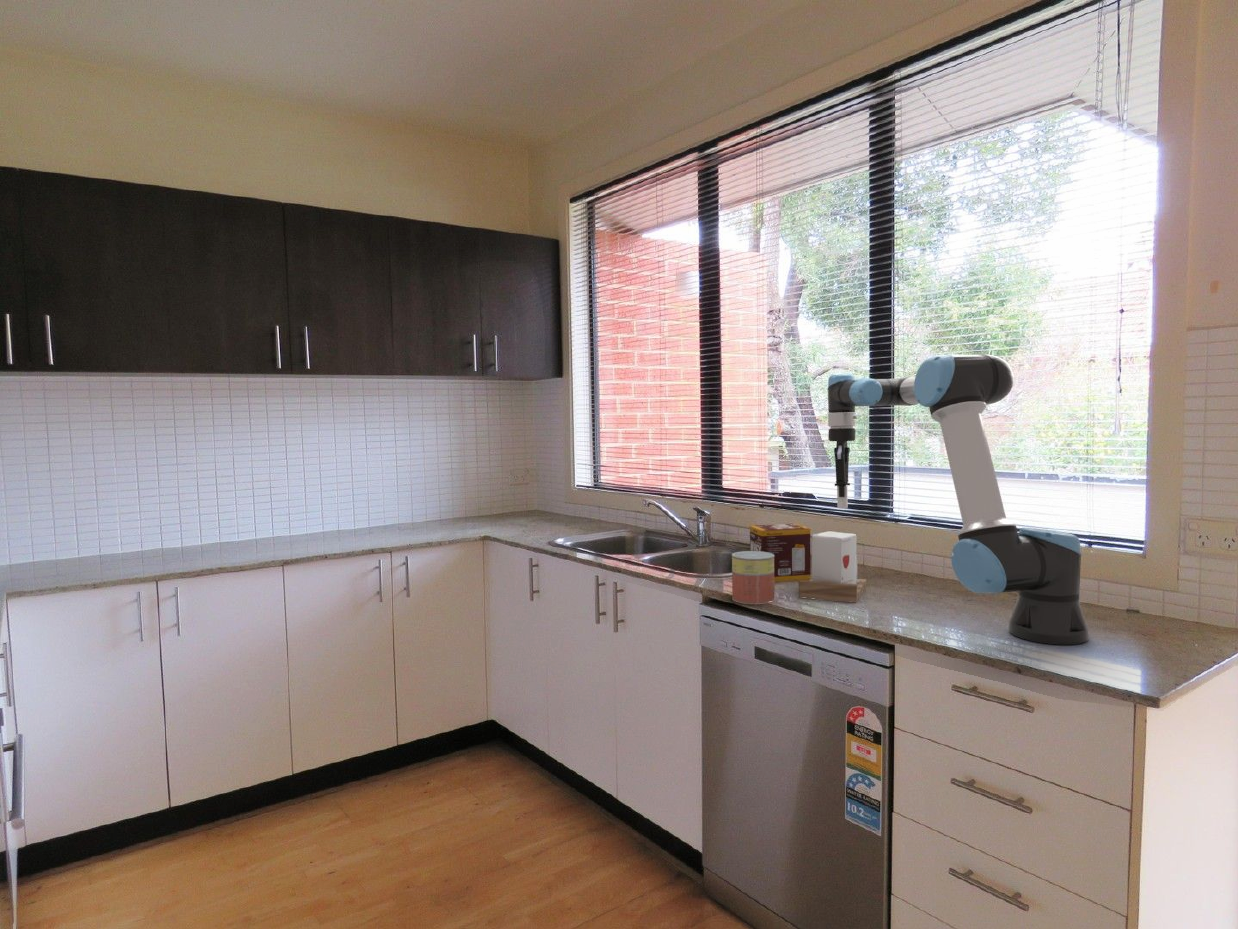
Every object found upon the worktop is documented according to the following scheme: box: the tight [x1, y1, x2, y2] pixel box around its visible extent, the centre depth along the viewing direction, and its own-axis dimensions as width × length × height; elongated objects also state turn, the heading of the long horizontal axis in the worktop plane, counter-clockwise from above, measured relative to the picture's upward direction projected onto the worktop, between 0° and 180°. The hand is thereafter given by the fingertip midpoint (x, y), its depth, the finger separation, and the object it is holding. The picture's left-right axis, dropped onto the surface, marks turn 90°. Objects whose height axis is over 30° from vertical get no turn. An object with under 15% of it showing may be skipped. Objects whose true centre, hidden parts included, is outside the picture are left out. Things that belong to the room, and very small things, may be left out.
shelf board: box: [797, 576, 867, 603], centre depth 210 cm, size 22×15×4 cm
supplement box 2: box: [811, 530, 858, 584], centre depth 206 cm, size 9×9×15 cm
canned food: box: [731, 550, 775, 605], centre depth 203 cm, size 11×11×12 cm
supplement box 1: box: [749, 522, 812, 583], centre depth 228 cm, size 10×15×16 cm
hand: (842, 507), depth 223 cm, fingers closed
